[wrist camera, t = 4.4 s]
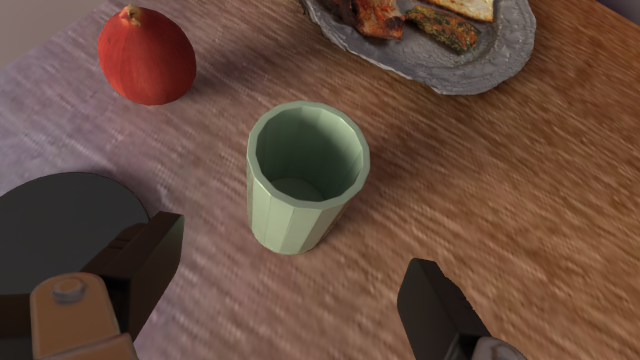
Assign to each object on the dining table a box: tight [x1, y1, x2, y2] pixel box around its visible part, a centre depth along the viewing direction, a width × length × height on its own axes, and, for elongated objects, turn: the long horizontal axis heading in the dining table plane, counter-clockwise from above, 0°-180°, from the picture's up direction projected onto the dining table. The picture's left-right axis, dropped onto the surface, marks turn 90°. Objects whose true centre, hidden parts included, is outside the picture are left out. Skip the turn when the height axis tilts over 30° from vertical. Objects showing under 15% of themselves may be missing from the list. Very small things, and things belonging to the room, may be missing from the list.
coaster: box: [0, 172, 150, 295], centre depth 20 cm, size 10×10×1 cm
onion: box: [98, 4, 197, 106], centre depth 22 cm, size 6×6×8 cm
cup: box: [247, 100, 370, 255], centre depth 20 cm, size 6×6×9 cm
